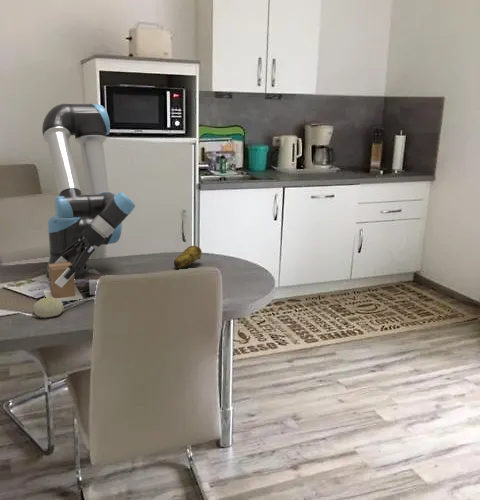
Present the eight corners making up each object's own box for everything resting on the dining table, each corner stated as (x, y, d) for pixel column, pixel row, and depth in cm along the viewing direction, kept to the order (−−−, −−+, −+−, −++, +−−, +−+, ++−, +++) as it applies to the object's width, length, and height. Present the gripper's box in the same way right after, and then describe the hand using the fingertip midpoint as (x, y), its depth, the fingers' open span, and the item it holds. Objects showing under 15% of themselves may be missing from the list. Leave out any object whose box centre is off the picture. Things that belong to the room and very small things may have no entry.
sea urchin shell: (34, 316, 171) (31, 292, 174) (34, 326, 177) (31, 303, 181) (65, 312, 174) (62, 289, 178) (64, 322, 181) (61, 299, 184)
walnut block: (50, 291, 193) (48, 264, 190) (71, 289, 196) (69, 261, 193) (53, 298, 187) (51, 270, 184) (75, 295, 190) (73, 267, 187)
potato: (168, 265, 229) (168, 246, 227) (197, 261, 235) (197, 243, 233) (176, 271, 222) (176, 251, 220) (206, 267, 228) (206, 248, 226)
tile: (43, 294, 194) (43, 290, 193) (76, 290, 198) (76, 286, 198) (48, 305, 184) (48, 301, 184) (82, 300, 189) (82, 297, 189)
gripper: (115, 247, 182) (70, 297, 180) (97, 230, 203) (57, 274, 201) (98, 233, 178) (51, 283, 176) (82, 216, 200) (40, 261, 197)
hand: (54, 278), depth 188 cm, fingers open, 13 cm apart
